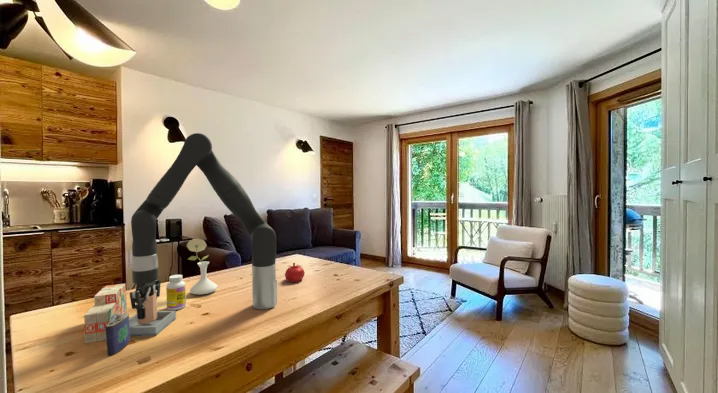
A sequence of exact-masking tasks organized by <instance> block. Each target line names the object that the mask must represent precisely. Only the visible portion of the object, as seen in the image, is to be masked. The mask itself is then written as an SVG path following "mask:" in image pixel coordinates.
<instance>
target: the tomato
mask: <svg viewBox="0 0 718 393" xmlns="http://www.w3.org/2000/svg"><path fill="white" fill-rule="evenodd" d="M305 274H306V273H305V270H304V268H303V267H302V266H301V265H300V264H296V263H295V262H293V263H292V265H287V269H286V270H285V273H284V276H285V278H284V279H285V280H286V281H287V282H289V283H297V282H300V281H301V280H303V279H304V277H305Z"/></svg>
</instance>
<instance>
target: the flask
mask: <svg viewBox="0 0 718 393" xmlns="http://www.w3.org/2000/svg"><path fill="white" fill-rule="evenodd" d="M116 316H117V317H116V318H115V320H114V321H113V322H109V324H107V325H106V328H105V329H106V340H105V341H106V352H107V357H112V356H115V355H117V354H118V353H120V352H121V351H123V350H124V349H125V348H126V347H127V346H128V345H129V344H130V343H131V337H130V332H129V318H130V315H129V314H128V313H127V314H124V315H123V314H116Z"/></svg>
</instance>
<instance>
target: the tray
mask: <svg viewBox="0 0 718 393" xmlns="http://www.w3.org/2000/svg"><path fill="white" fill-rule="evenodd" d="M176 319H177V310H157V319H156V320H155V321H153V322H151V323H147V324H138V323H137V317H136V313H135V314H134V315H132V316H131V317H129V332H130V338H131V337H135V338H136V337H156V336H157V335H159V334H160V333H161V332H162V331H163V330H165V329H166V328H167V327H168V326H169V325H170V324H172V322H174V321H176Z"/></svg>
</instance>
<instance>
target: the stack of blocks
mask: <svg viewBox="0 0 718 393" xmlns="http://www.w3.org/2000/svg"><path fill="white" fill-rule="evenodd" d="M126 285H127V284H126V283H119V284H111V285H110V284H108V285H105V286H103V287H102V288H101V289H100V290H99V291H98V292H97V293H96V294H95V295H94V305H93V306H92V307H91V308H89V310H88V311H87V312H86V313H85V314H84V315H83V319H84V324H83V330H84V331H83V332H84V344H89V343H95V342H96V343H97V342H102V341H107V340H106V329H105V328H106V325H107V324H109V322H113V321H114V320H115V318H116V317H117V316H116V314H123V315H124V314H128V307H127V286H126Z"/></svg>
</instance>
